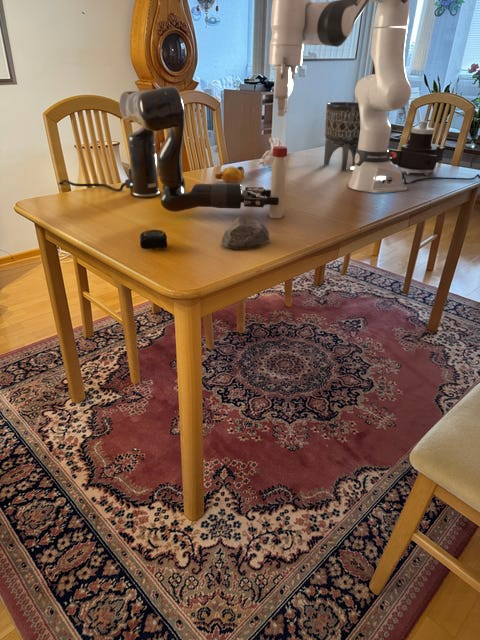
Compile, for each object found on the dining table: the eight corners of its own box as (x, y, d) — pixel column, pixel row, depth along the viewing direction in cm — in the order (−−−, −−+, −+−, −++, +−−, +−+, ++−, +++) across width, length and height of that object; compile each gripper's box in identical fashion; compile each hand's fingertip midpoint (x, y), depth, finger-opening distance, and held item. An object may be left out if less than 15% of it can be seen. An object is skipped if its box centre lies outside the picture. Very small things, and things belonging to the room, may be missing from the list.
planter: (313, 167, 208) (319, 103, 195) (331, 160, 222) (338, 101, 209) (353, 173, 199) (362, 107, 185) (369, 166, 213) (379, 104, 199)
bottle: (285, 217, 143) (290, 149, 133) (275, 219, 141) (279, 150, 131) (276, 213, 146) (281, 147, 136) (266, 215, 144) (270, 148, 134)
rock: (255, 233, 128) (256, 211, 124) (276, 242, 122) (278, 219, 119) (217, 244, 120) (217, 220, 117) (239, 254, 115) (239, 230, 111)
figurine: (286, 165, 210) (288, 136, 203) (269, 171, 199) (270, 140, 193) (271, 163, 214) (272, 134, 207) (253, 168, 203) (254, 138, 196)
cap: (289, 156, 134) (290, 147, 133) (278, 157, 132) (279, 149, 131) (280, 154, 137) (281, 145, 136) (269, 155, 135) (270, 146, 133)
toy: (212, 175, 175) (219, 166, 187) (218, 191, 178) (224, 181, 190) (239, 166, 171) (244, 157, 184) (245, 182, 174) (249, 173, 187)
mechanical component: (390, 120, 192) (418, 115, 212) (381, 171, 203) (408, 162, 223) (441, 125, 180) (466, 119, 200) (429, 179, 191) (453, 169, 211)
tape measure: (140, 252, 115) (139, 238, 113) (141, 242, 120) (140, 229, 119) (167, 251, 116) (166, 237, 114) (167, 241, 121) (166, 228, 120)
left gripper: (224, 189, 133) (279, 191, 132) (227, 178, 145) (278, 179, 145) (224, 214, 136) (278, 216, 136) (227, 201, 149) (276, 203, 148)
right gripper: (295, 58, 112) (291, 119, 119) (299, 58, 130) (295, 111, 137) (270, 58, 113) (267, 118, 120) (277, 58, 131) (274, 110, 138)
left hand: (278, 197), depth 140 cm, fingers open, 8 cm apart
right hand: (282, 114), depth 129 cm, fingers open, 6 cm apart
